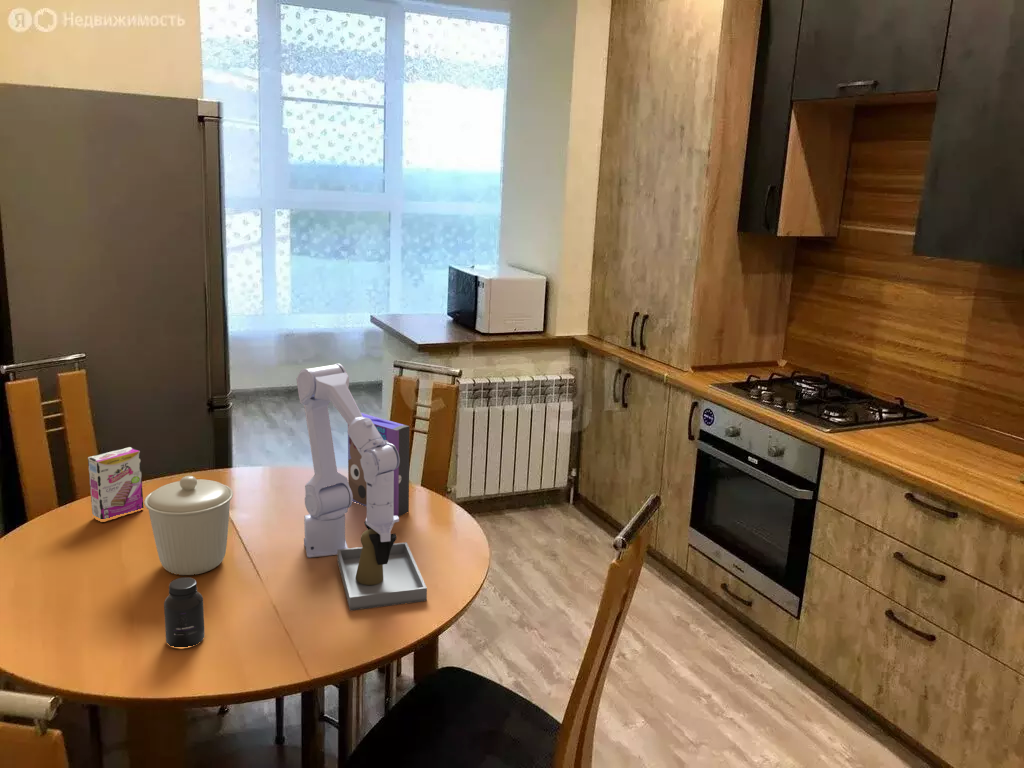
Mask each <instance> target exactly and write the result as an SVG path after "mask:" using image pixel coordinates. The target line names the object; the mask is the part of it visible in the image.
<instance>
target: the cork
mask: <svg viewBox="0 0 1024 768" xmlns="http://www.w3.org/2000/svg"><path fill="white" fill-rule="evenodd" d="M369 534H378V533H377V532H376V531H374V530H373V529H369V530H367V529H366V530H363V532H362V534H361V536H360V544H361V545H362V546H361V547H362V551H361V555H360V560H359V564H358V569H357V573H356V580H357V581H358V582H359V583H361V584H365V585H375V584H379V583H381V582H382V581H383V565H378V564H377V561H376V556H375V550H374V546H373V544H372V542H371V540H370V538H369Z"/></svg>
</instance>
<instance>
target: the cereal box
mask: <svg viewBox="0 0 1024 768" xmlns="http://www.w3.org/2000/svg"><path fill="white" fill-rule="evenodd" d="M361 414H362V416H363V417H365V418H369V419H371V421H372V422H373V424H374V426H375V427H376V429H377V430H378V432H379V433H380V435H381V437H382V438H383V440H386V441H388V442H389V443H391V444H393V445H394V446H395V447H396V449H397V451H398V453H399V458H400V463H399V466H398V468H397V469H395V470H393V471H394V516H398V517H399V518H400V517H402V516H403V514H404V515H406V514H407V512H408V513H409V511H410V510H409V509H410V507H409V505H410V503H409V502H410V425H407V424H403V423H399V422H395V421H392V420H389V419H384V418H381V417H377V416H373V415H370V414H367V413H363V412H361ZM348 427H349V425H348V424H347V428H348ZM347 456H348V457H347V465H348V466H347V467H348V470H347V473H348V477H347V479H348V484H349V487H350V489H351V491H352V495H353V502H352V503H354V502H356V503H355V504H357V503H359V504H358V505H360V504H361V506H362V505H363V506H362V507H365V506H366V508H367V482H366V481H365V479H364V472H363V469H362V466H361V462H360V459H361V458H362V456H361V454H360V453H359V451H358V449H357V448H356V446H355V445H354V443H353V441H352V440H351V438H350V436H349V435H348V434H347ZM405 513H406V514H405Z"/></svg>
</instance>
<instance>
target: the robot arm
mask: <svg viewBox="0 0 1024 768" xmlns="http://www.w3.org/2000/svg"><path fill="white" fill-rule="evenodd" d="M296 384H297V385H296V387H297V391H298V398H299V403H300V404H301V405H303V407H304V413H305V420H306V425H307V433H308V439H309V446H310V452H311V460H312V466H313V472H314V475H313V476H312V477H311V478H310V480H308V482H306V484H305V486H304V489H305V490H304V491H305V493H304V495H305V497H304V505H305V508H306V511H307V512H308V514H306V515H304V519H303V524H304V538H303V546H304V547H305V551H306V552H305V553H306V557H307V558H309V559H310V558H318V557H327V556H337V550H338V549H347V548H349V547H348V543H347V541H346V540H347V539H346V514H347V513H348V511H349V510H348V509H349V508H350V507H351V506H352V505H353V502H352V501H353V495H352V491H351V489H350V487H349V484H348V477H346V476H345V475H344V474H342V473H340V472H338V468H337V461H336V455H335V454H336V453H335V448H334V447H335V446H334V440H333V435H332V434H333V433H332V428H331V421H330V416H329V415H330V413H329V408H328V406H329V404H330V403H331V404H332V405H333V406H334V407H335V409H336V410H337V412H338V413H339V415H341V417H342V418H343V419H344V421H345V423H347V436H348V435H349V436H350V438H351V440H352V441H353V443H354V445H355V446H356V448H357V449H358V451H359V453H360V454H361V456H362V458H361V459H360V462H361V466H362V469H363V472H364V479H365V481H366V482H367V507H366V518H365V521H364V522H363V523H364V526H365V528H366V530H369V529H373V530H374V531H376V532H377V533H378V534H369V538H370V540H371V542H372V544H373V546H374V550H375V556H376V561H377V564H378V565H383V564H387V563H388V559H389V555H390V551H391V548H392V546H393V544H395V543H396V540H397V534H396V533H391V531H392V529H393V527H394V525H395V523H399V522H400V516H399V517H398V516H394V471H393V470H395V469H397V468H398V466H399V463H400V458H399V453H398V451H397V449H396V447H395V446H394V445H393V444H391V443H389V442H388V441H386V440H383V438H382V437H381V435H380V433H379V432H378V430H377V429H376V427H375V426H374V424H373V422H372V421H371V419H369V418H365V417H363V416H362V414H361V413H362V411H361V410H360V408H359V407H358V405H357V403H356V402H357V401H356V400H355V399H354V397H353V395H352V393H351V391H350V387H349V385H350V376H349V374H348V373H347V370H346V368H345V367H344V365H342V364H341V363H339V362H338V363H334V364H330V365H324V366H317V367H310V368H302V369H301V370H300V372H299V374H298V375H297V377H296ZM348 425H349V427H348Z"/></svg>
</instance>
